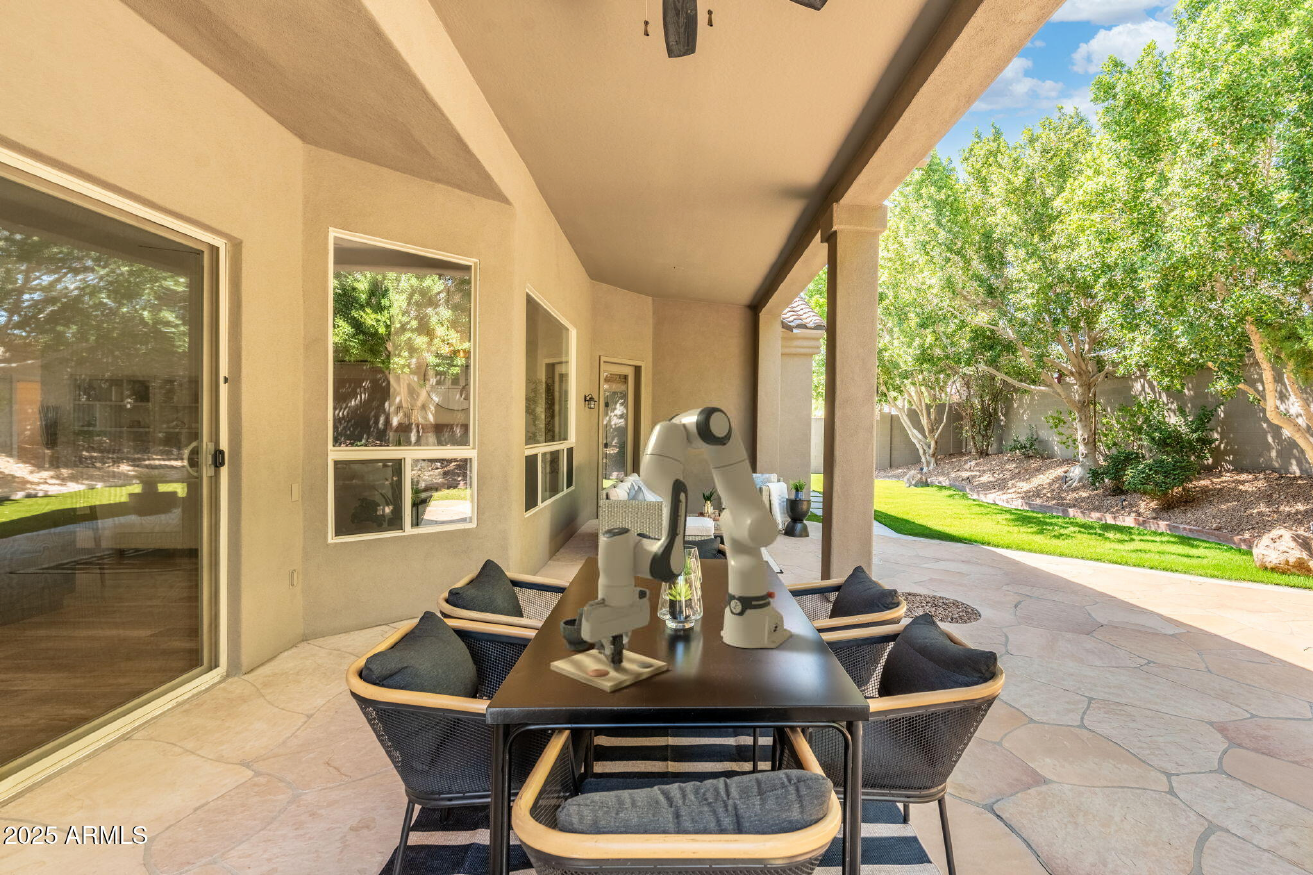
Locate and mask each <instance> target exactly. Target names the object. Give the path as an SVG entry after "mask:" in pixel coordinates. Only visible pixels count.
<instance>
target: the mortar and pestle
mask: <svg viewBox="0 0 1313 875" xmlns="http://www.w3.org/2000/svg"><path fill="white" fill-rule="evenodd" d="M584 608H585V607H581V608H579V609H578V610H577V614H578V615H577V617H572V618H567V619H563V620H562V621H561V622H559V628H560V629H559V630H560V634H561V636H562V638H563V639H564V640H565V642H566V649H568V650H571V651H582V650H587V647H588V648H589V647H590V646H589V645H590V644H589V643H590V642H589V641H586V640H584V639H583V638H582V636H581V628H582V619H583V614H584Z"/></svg>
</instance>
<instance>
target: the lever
mask: <svg viewBox="0 0 1313 875" xmlns="http://www.w3.org/2000/svg"><path fill="white" fill-rule="evenodd" d="M609 642H610V644H611V646H614V653H613V654H610V655H608V654H606V653H605V646H604V644H603V643H602V641H601V640H598V641H595V642H594V649H596V650H600V651H601V653H602V654H603V655H604V657H605V658H606V660H607V661H608V662H609V664H610V665H611V666H612V668H621V663H623V634H622V633H620V634H617V635H614V636H611V641H609Z"/></svg>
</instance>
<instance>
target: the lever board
mask: <svg viewBox="0 0 1313 875" xmlns="http://www.w3.org/2000/svg"><path fill="white" fill-rule="evenodd" d="M549 664H550V670H552V671H554V672H557V673H560V674H561V675H563V676H564V675H565V676H566V677H570V678H572V679H575V680H577V681H580V682H582V683H585V684H587V685H590V686H593V687H594V688H598V689H600V690H603V691H605V692H608V693H610V692H613V691H616V690H618V689H621V688H623V687H626V686H628V685H631V684H634V683H635V682H638V681H639V682H640V681H641V680H643V679H646V678H649V677H651V676H654V675H656V674H659V673H661V672H664V671H666V670H667V669H668V663H667V662H663V661H661V660H657V659H655V658H654V659H653V658H651V657H647V656H645V655H642V654H639V653H635V652H632V651H629V650H627V649H625V650H623V663H621V668H612V666H611V665H610V664H609V662H608V661H607V660H606V658H605V657H604V655H603V654H602V653H601V651H600V650H596V649H595V648H594V649H590V650H587V651H584V652H581V653H578V654H576V655H572V656H569V657H566V658H562V659H560V660H559V659H558V660H556V661H553V662H550V663H549Z"/></svg>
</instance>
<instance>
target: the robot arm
mask: <svg viewBox="0 0 1313 875" xmlns="http://www.w3.org/2000/svg"><path fill="white" fill-rule="evenodd" d="M744 445H745V444H744V443H743V441H742V438H741V436H740V434H739V432H738V430H737V429H736V428H735V427H734V426H733V425H732V423H731V420H730V417H729V416H728V414H727V413H726V412H725V411H724V410H723V409H722V408H721V407H717V406H706V407H700V408H694V409H690V410H688V411H685V412H682V413H677V414H676V415H673V416H672V417H671V418H669V420H665V421H661V422H658V423H657V424H656V425H655V426H654V428H653V430H652V432H651V433H650V436H649V438H648V441H647V442H646V446H645V450H644V452H643V457H642V460H641V462H640V463H641V464H640V470H639V471H640V472H639V473H640V474H639V477H640V479H641V482H642V483H643V485H644V486H645V488H646V489H648V491H650V492H651V493H653V494H654V495H656V496H658V497H659V498H660V499H662V500H663V502H664V504H665V517H664V524H663V525H664V527H663V536H662V538H661V539H660V540H659V539H649V538H647V537H646V538H644V537H641V536H639V535H636V534H635V533H633V532H632V530H631V529H630V528H629V527H625V526H624V527H623V526H621V527H620V526H618V527H612V528H608V529H607V530H605V531H603V532H602V533H601V534H600V538H599V544H598V556H597V557H598V559H597V560H598V565H597V566H598V570H599V578H598V584H597V585H598V592H597V593H598V599H595V600H591V601H588V602H587V604H586V605H585V606H584V607H583V608H584V614H583V619H582V628H581V636H582V638H583V639H584V640H586V641H588V643H595V641H598V640H601V641H602V643H603V644H604V646H605V653H606V654H608V655H610V654H613V653H614V646H611V644H610V641H611V636H614V635H617V634H623V650H627V649H628V648H629V642H630V639H631V637H632V634H633V633H632V631H634V630H636V629H640V628H642V627H646V626H648V624H649V622H650V616H651V611H650V610H651V608H650V601H649V597H650V591H649V589H646V588H643V587H639V586H636V585H635V578H634V576H638V577H639V578H640V577H641V578H644V579H645V578H646V579H650V580H651V579H652V580H654V581H658V582H661V583H665V584H671V583H673V582H675V581H676V580H677V579H678V578H680V576H682V574H684V570H685V568H686V565H687V564H686V563H687V556H686V554H687V553H686V534H687V532H686V531H687V519H688V508H689V491H688V486H687V485H686V483H685V482H684V479H683V468H684V464H685V460H686V454H687V451H689V450H690V451H692V450H701V449H704V451H705V452H706V454H707V458H708V463H709V467H710V469H711V474H712V477H713V479H714V483H715V487H716V490H717V494H718V495H719V496H720V498H721V499H722V501H723V503H724V505H725V506H726V508H725V509H724V510H722V512H721V513H720V516H719V518H718V524H719V529H720V530H721V533H722V538H723V542H724V543H723V544H724V548H725V553H726V559H727V566H728V567H727V568H728V574H727V575H728V591H727V592H726V604H727V607H726V608H725V609H724V617H723V618H724V619H723V630H721V631H720V635H721V637H722V642H724V643H725V644H727V645H730V646H732V647H736V648H737V647H738V648H744V649H745V648H746V649H761V648H762V649H763V648H764V649H775V648H777V647H779V646H780V645H781V644H783V643H784V642H785V641H786V640H788V639H789V638H791V636H793V632H792V631H791V630H789V629H787V628H785V622H784V616H783V614H782V613H781V612H780V611H778V610H777V609H776V608H775V607H774V606H773V605H772V604H771V600H773V599H775V596H776V593H775V591H769V590H767V589H768V572H767V570H768V568H767V567H768V566H767V563H766V561H765V559H764V557H763V556H764V555H763V553H762V550H761V549H762V548H767V547H770V546H771V545H772V544H774V543H775V541H776V540H777V539H778V536H779V525H778V521H777V520H776V519H775V517H774V516H773V515H772V514H771V512H770V510H769V508H768V506H767V503H766V502H765V500H764V498H763V496H762V495H761V492H760V490H759V489H758V486H757V482H756V481H755V478H754V475H753V471H752V467H751V465H750V464H751V463H750V462H749V461H750V460H749V457H748V453H747V451H746V448H745V446H744Z"/></svg>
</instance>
